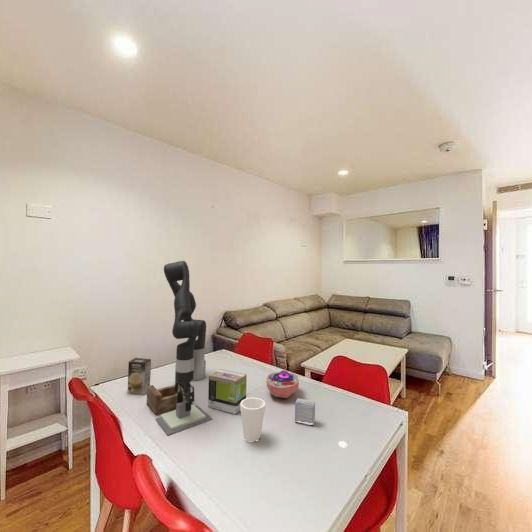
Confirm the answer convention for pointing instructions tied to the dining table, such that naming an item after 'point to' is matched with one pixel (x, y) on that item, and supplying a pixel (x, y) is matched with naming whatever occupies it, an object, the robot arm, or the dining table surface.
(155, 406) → the walnut box
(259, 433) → the foam cup
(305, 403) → the medicine box
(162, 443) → the dining table surface
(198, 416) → the cover plate
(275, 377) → the cell model
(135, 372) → the coffee box
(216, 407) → the tea box
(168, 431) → the rubber mat
